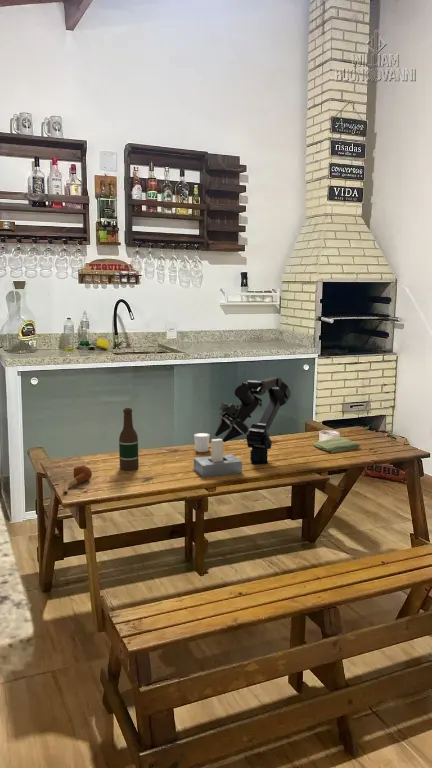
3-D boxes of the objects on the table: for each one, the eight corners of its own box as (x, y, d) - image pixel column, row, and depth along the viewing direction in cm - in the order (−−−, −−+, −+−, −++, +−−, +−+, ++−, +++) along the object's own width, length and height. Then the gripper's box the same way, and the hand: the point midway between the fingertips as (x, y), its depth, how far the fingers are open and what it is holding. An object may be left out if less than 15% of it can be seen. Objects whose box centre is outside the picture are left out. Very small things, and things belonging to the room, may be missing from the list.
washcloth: (311, 447, 287) (311, 440, 287) (343, 442, 295) (343, 435, 295) (329, 454, 276) (329, 447, 275) (362, 449, 284) (362, 442, 283)
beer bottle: (142, 466, 259) (141, 407, 255) (133, 471, 252) (132, 411, 248) (125, 464, 261) (123, 406, 257) (115, 469, 254) (114, 410, 250)
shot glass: (207, 452, 278) (207, 436, 277) (192, 451, 279) (192, 436, 278) (211, 448, 284) (211, 433, 283) (196, 447, 286) (195, 432, 285)
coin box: (231, 464, 260) (231, 454, 259) (241, 472, 250) (241, 461, 249) (193, 469, 255) (193, 458, 254) (202, 477, 244) (202, 465, 244)
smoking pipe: (94, 478, 244) (93, 464, 243) (79, 495, 226) (78, 479, 225) (75, 478, 245) (75, 463, 244) (59, 494, 227) (58, 478, 226)
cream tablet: (221, 469, 254) (220, 438, 252) (223, 471, 252) (223, 439, 250) (211, 470, 253) (211, 439, 251) (213, 472, 250) (213, 440, 248)
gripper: (224, 391, 258) (198, 420, 257) (240, 399, 241) (212, 430, 239) (242, 408, 262) (217, 437, 260) (260, 418, 244) (232, 449, 243)
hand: (219, 438), depth 251 cm, fingers open, 9 cm apart
